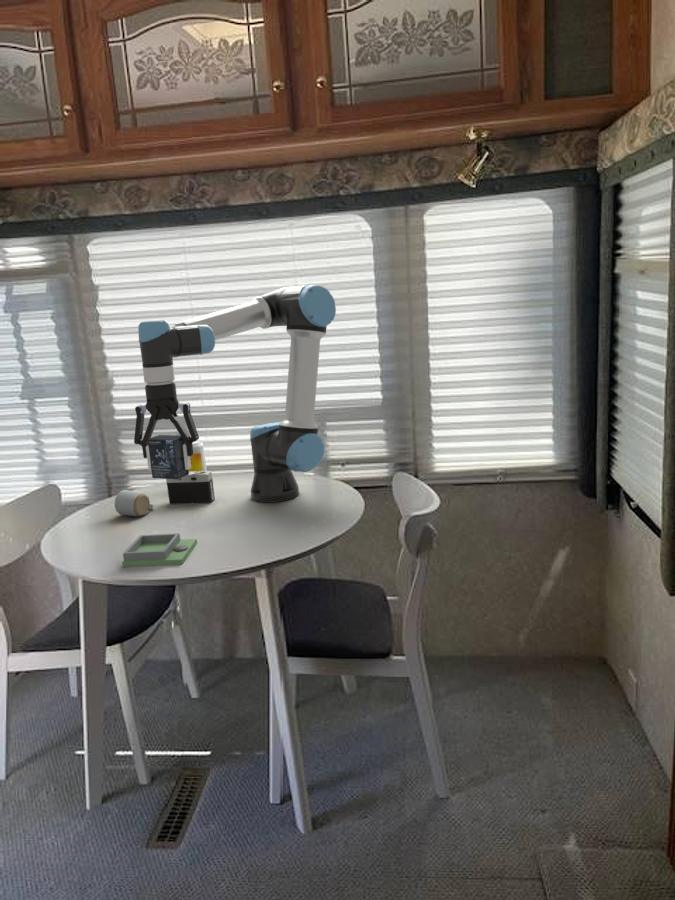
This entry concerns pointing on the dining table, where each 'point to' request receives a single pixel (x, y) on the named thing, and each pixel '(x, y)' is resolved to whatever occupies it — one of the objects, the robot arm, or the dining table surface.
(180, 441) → the box
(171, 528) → the dining table surface
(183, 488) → the camera
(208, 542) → the dining table surface
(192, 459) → the white and yellow cylinder
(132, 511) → the ceramic mug
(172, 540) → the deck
